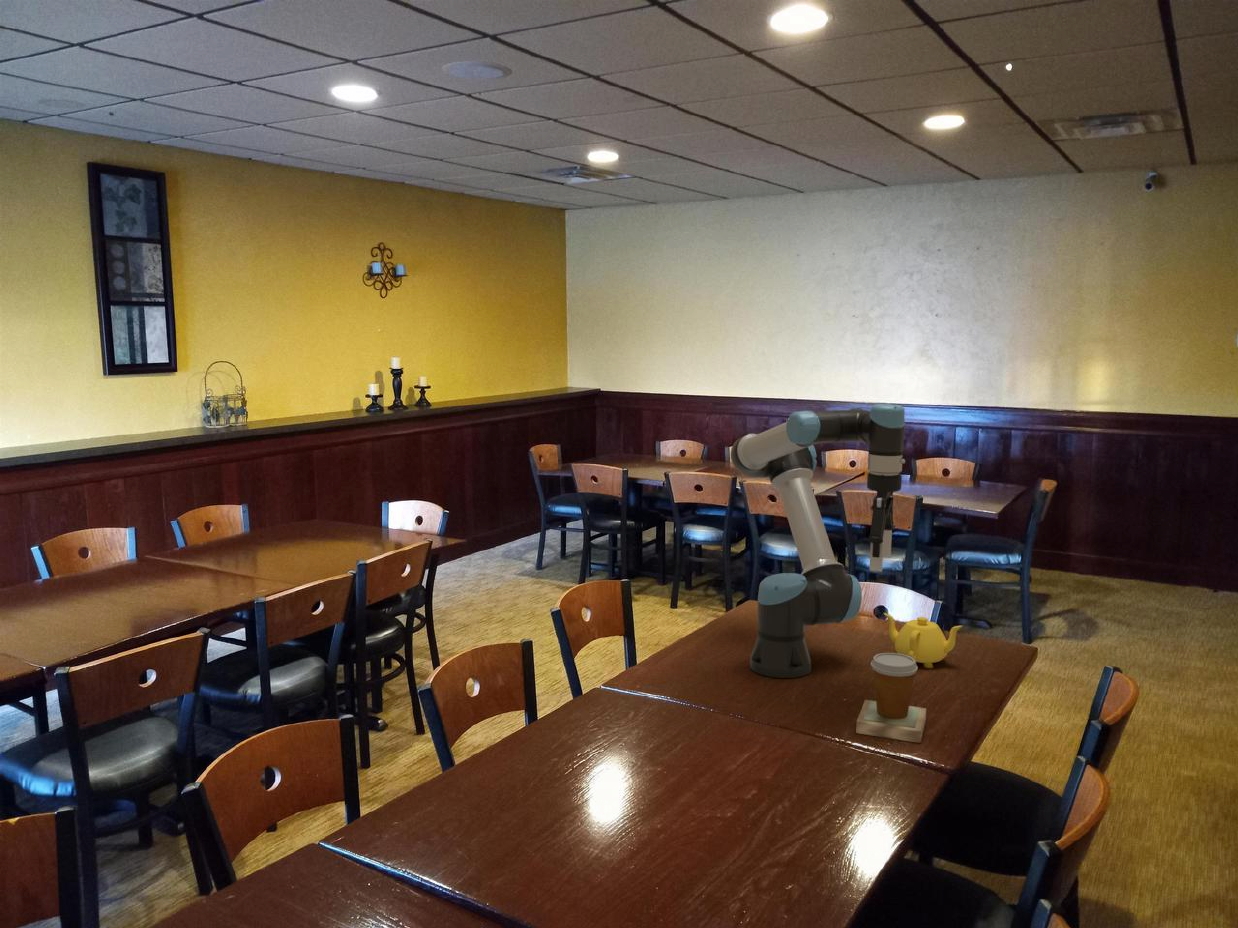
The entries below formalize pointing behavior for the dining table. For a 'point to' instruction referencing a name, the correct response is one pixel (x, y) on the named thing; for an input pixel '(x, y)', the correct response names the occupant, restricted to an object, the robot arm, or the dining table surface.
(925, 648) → the teapot
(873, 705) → the trivet
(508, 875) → the dining table surface
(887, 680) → the disposable coffee cup
